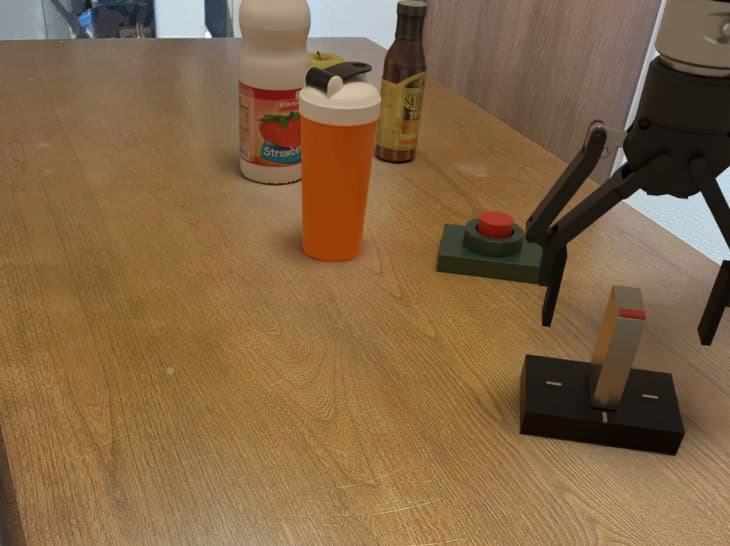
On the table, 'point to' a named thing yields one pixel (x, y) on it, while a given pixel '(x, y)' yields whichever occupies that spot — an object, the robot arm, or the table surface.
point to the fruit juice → (272, 87)
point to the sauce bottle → (402, 86)
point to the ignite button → (495, 224)
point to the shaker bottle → (336, 158)
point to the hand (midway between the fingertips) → (623, 328)
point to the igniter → (488, 254)
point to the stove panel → (597, 425)
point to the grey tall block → (616, 346)
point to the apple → (324, 60)
